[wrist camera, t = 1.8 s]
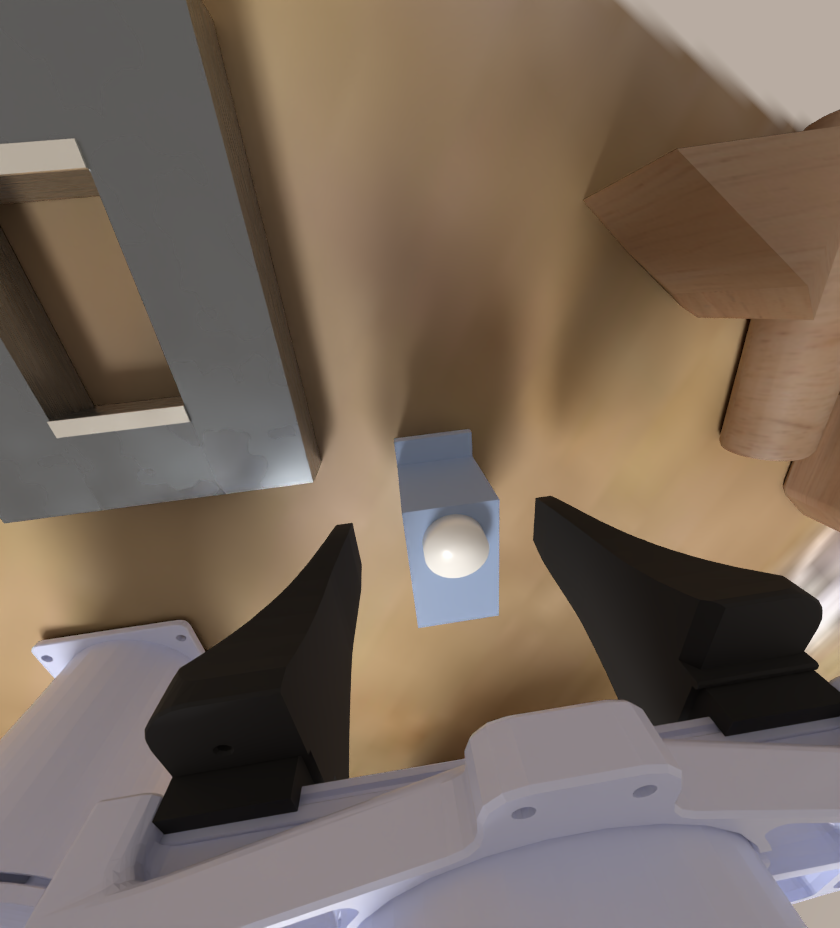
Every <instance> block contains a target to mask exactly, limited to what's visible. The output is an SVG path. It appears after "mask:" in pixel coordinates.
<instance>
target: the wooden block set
mask: <svg viewBox="0 0 840 928" xmlns="http://www.w3.org/2000/svg"><path fill="white" fill-rule="evenodd" d="M583 201H584V202H585V203H586V205H587V206H588V207H589V208H590V209H591V210H592V212H593V213H594V214H595V215H596V216H597V217H598V218H599V220H600V221H601V222H602V223H603V224H604V225H605V227H606V228H607V229H608V230H609V231H610V232H611V234H612V235H613V236H614V237H615V238H616V239H617V241H618V242H619V243H620V244H621V245H622V246H623V247H624V249H625V250H626V251H627V252H628V253H629V254H630V255H631V256H632V257H633V258H634V259H635V260H636V261H637V262H638V263H639V264H640V265H641V266H642V267H643V268H644V269H645V270H646V271H647V272H648V273H649V274H650V275H651V276H652V277H653V278H654V279H655V280H656V281H657V282H658V283H659V284H660V285H661V286H662V287H663V288H664V289H665V290H666V291H667V292H668V293H669V294H670V295H671V296H672V297H673V298H674V299H675V300H676V301H677V302H678V303H679V304H680V305H681V306H682V307H683V308H685V309H686V310H688V311H689V312H691V313H692V314H694V315H695V316H697V317H703V318H748V319H751V321H750V325H749V328H748V332H747V336H746V340H745V344H744V347H743V351H742V355H741V359H740V362H739V366H738V370H737V374H736V378H735V381H734V385H733V389H732V393H731V397H730V400H729V404H728V408H727V412H726V415H725V419H724V423H723V427H722V431H721V434H720V438H719V440H720V443H721V446H722V447H723V448H724V449H726V450H728V451H730V452H732V453H735V454H738V455H741V456H745V457H749V458H755V459H761V460H770V461H792V463H791V466H790V469H789V471H788V474H787V477H786V479H785V482H784V485H783V488H784V492H785V495H786V496H787V497H788V498H789V499H790V500H791V501H792V502H793V503H794V505H795V506H796V507H797V508H798V509H799V510H800V511H801V512H802V513H803V514H804V515H806V516H808V517H810V518H812V519H814V520H816V521H818V522H820V523H822V524H824V525H826V526H828V527H831V528H833V529H835V530H837V531H839V532H840V110H838V111H835V112H833V113H831V114H828V115H826V116H824V117H822V118H821V119H819V120H817V121H816V122H814V123H812V124H811V125H809V126H808V127H806V128H805V129H804V131H801V132H794V133H786V134H779V135H772V136H765V137H758V138H751V139H743V140H736V141H729V142H722V143H715V144H708V145H700V146H693V147H686V148H679V149H676V150H674V151H672V152H670V153H668V154H666V155H665V156H663V157H661V158H659V159H657V160H655V161H654V162H652V163H650V164H648V165H646V166H644V167H643V168H641V169H639V170H637V171H635V172H633V173H632V174H630V175H628V176H626V177H624V178H622V179H621V180H619V181H617V182H615V183H613V184H611V185H610V186H608V187H606V188H604V189H602V190H600V191H599V192H597V193H595V194H593V195H591V196H589V197H588V198H586V199H584V200H583Z"/></svg>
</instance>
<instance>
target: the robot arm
mask: <svg viewBox="0 0 840 928" xmlns="http://www.w3.org/2000/svg"><path fill="white" fill-rule="evenodd" d="M533 541H534V543H535V545H536V547H537V550H538V552H539V554H540V556H541V558H542V560H543V562H544V564H545V565H546V567H547V569H548V570H549V572H550V573H551V575H552V577H553V578H554V580H555V581H556V583H557V584H558V586H559V587H560V589H561V590H562V592H563V594H564V595H565V597H566V598H567V600H568V601H569V603H570V604H571V606H572V607H573V609H574V611H575V612H576V614H577V616H578V617H579V619H580V621H581V623H582V624H583V626H584V628H585V630H586V632H587V634H588V636H589V638H590V640H591V642H592V644H593V646H594V648H595V650H596V652H597V654H598V656H599V658H600V660H601V663H602V665H603V667H604V669H605V671H606V673H607V675H608V677H609V679H610V682H611V684H612V686H613V688H614V691H615V693H616V695H617V697H618V699H619V700H601V701H595V702H589V703H583V704H577V705H571V706H565V707H559V708H553V709H547V710H541V711H535V712H529V713H523V714H517V715H511V716H506V717H503V718H500V719H497V720H493V721H490V722H487V723H486V724H484V725H483V726H482V727H480V728H479V729H478V730H476V731H475V732H474V733H473V734H472V735H471V737H470V738H469V741H468V744H467V746H466V749H465V751H464V753H465V759H460V760H454V761H448V762H442V763H436V764H430V765H425V766H419V767H413V768H407V769H401V770H395V771H390V772H384V773H378V774H372V775H366V776H360V777H355V778H349V725H350V691H351V667H352V652H353V642H354V635H355V629H356V622H357V615H358V608H359V601H360V593H361V571H362V564H361V560H360V555H359V551H358V546H357V542H356V537H355V533H354V528H353V524H352V523H348V524H341V525H336V526H335V528H334V529H333V530H332V532H331V533H330V534H329V536H328V537H327V539H326V540H325V542H324V543H323V544H322V546H321V547H320V548H319V550H318V551H317V552H316V554H315V555H314V556H313V558H312V559H311V560H310V561H309V563H308V564H307V565H306V566H305V568H304V569H303V570H302V571H301V572H300V573H299V575H298V576H297V577H296V578H295V579H294V580H293V581H292V582H291V584H290V585H289V586H288V587H287V588H286V589H285V590H284V591H283V592H282V593H281V594H279V595H278V596H277V597H276V598H275V599H274V600H273V601H272V602H271V603H270V604H269V605H267V606H266V607H265V608H264V609H263V610H262V611H260V612H259V613H258V614H257V615H256V616H254V617H253V618H252V619H251V620H250V621H248V622H247V623H246V624H245V625H243V626H242V627H241V628H239V629H238V630H237V631H235V632H234V633H232V634H231V635H230V636H228V637H227V638H226V639H224V640H223V641H221V642H220V643H218V644H217V645H215V646H214V647H212V648H211V649H209V650H208V651H206V652H205V650H204V648H203V647H202V645H201V643H200V641H199V639H198V638H197V636H196V634H195V632H194V630H193V629H192V627H191V625H190V624H189V623H188V622H187V621H185V620H174V621H167V622H161V623H154V624H147V625H141V626H134V627H127V628H120V629H114V630H107V631H100V632H94V633H87V634H80V635H74V636H67V637H60V638H54V639H47V640H41V641H39V642H38V643H37V644H36V645H35V646H34V647H32V650H31V651H32V653H33V655H34V656H35V657H36V658H37V659H38V660H39V661H40V662H41V664H42V665H43V666H44V667H45V668H46V669H47V670H48V671H49V673H50V674H51V675H52V676H53V677H54V678H55V679H54V680H53V681H52V682H51V683H50V685H49V686H48V687H47V688H46V689H45V690H44V691H43V692H42V694H41V695H40V696H39V697H38V698H37V699H36V700H35V701H34V703H33V704H32V705H31V706H30V707H29V708H28V709H27V710H26V712H25V713H24V714H23V715H22V716H21V717H20V718H19V719H18V720H17V722H16V723H15V724H14V725H13V726H12V727H11V728H10V729H9V731H8V732H7V733H6V734H5V735H4V736H3V737H2V738H1V740H0V928H808V927H807V926H806V925H805V923H804V922H803V920H802V919H801V917H800V916H799V914H798V913H797V911H796V910H795V908H794V907H793V906H792V904H794V903H797V902H801V901H804V900H808V899H811V898H815V897H818V896H822V895H825V894H829V893H832V892H836V891H839V890H840V676H839V677H836V678H834V679H833V680H831V681H830V682H827V681H826V680H825V679H824V678H823V677H821V676H820V675H819V674H818V673H817V672H816V671H814V670H817V669H818V667H819V665H818V663H817V662H816V661H815V660H814V659H813V658H812V657H810V656H809V655H808V654H807V653H805V652H804V650H805V649H806V647H807V645H808V644H809V642H810V640H811V639H812V637H813V635H814V634H815V632H816V630H817V629H818V627H819V624H820V622H821V620H822V606H821V604H820V602H819V600H817V599H816V598H814V597H813V596H812V595H810V594H809V593H807V592H806V591H804V590H803V589H801V588H800V587H798V586H797V585H796V584H794V583H793V582H791V581H790V580H788V579H787V578H785V577H784V576H780V575H775V574H770V573H764V572H759V571H754V570H748V569H743V568H738V567H733V566H729V565H725V564H721V563H716V562H712V561H708V560H704V559H701V558H697V557H693V556H690V555H686V554H683V553H680V552H677V551H673V550H670V549H667V548H664V547H661V546H658V545H655V544H653V543H650V542H647V541H645V540H642V539H639V538H637V537H634V536H632V535H630V534H627V533H625V532H623V531H620V530H618V529H616V528H614V527H612V526H609V525H607V524H605V523H603V522H601V521H599V520H597V519H595V518H593V517H591V516H589V515H587V514H585V513H584V512H582V511H580V510H578V509H576V508H574V507H572V506H570V505H568V504H566V503H565V502H563V501H561V500H559V499H557V498H554V497H552V496H547V497H539V498H536V501H535V518H534V535H533Z"/></svg>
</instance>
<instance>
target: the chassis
mask: <svg viewBox="0 0 840 928" xmlns="http://www.w3.org/2000/svg"><path fill="white" fill-rule="evenodd" d="M90 196H100V197H101V200H102V202H103V205H104V207H105V210H106V212H107V215H108V217H109V220H110V222H111V224H112V227H113V229H114V232H115V234H116V237H117V239H118V242H119V244H120V247H121V249H122V252H123V254H124V257H125V259H126V261H127V264H128V266H129V269H130V271H131V274H132V276H133V279H134V281H135V284H136V286H137V289H138V291H139V294H140V296H141V299H142V301H143V303H144V306H145V308H146V311H147V313H148V316H149V318H150V321H151V323H152V326H153V328H154V331H155V333H156V336H157V338H158V340H159V343H160V345H161V348H162V350H163V353H164V355H165V358H166V360H167V363H168V365H169V368H170V370H171V373H172V375H173V378H174V380H175V382H176V385H177V387H178V390H179V392H180V395H181V396H178V397H169V398H161V399H152V400H144V401H135V402H127V403H118V404H110V405H101V406H94V405H93V403H92V401H91V399H90V397H89V395H88V393H87V392H86V390H85V388H84V386H83V384H82V382H81V380H80V378H79V376H78V374H77V372H76V371H75V369H74V367H73V365H72V363H71V361H70V359H69V357H68V355H67V353H66V351H65V350H64V348H63V346H62V344H61V342H60V340H59V338H58V336H57V334H56V332H55V330H54V328H53V327H52V325H51V323H50V321H49V319H48V317H47V315H46V313H45V311H44V309H43V307H42V306H41V304H40V302H39V300H38V298H37V296H36V294H35V292H34V290H33V288H32V286H31V285H30V283H29V281H28V279H27V277H26V275H25V273H24V271H23V269H22V267H21V265H20V264H19V262H18V260H17V258H16V256H15V254H14V252H13V250H12V248H11V246H10V244H9V243H8V241H7V239H6V237H5V235H4V233H3V231H2V229H1V227H0V519H1V520H2V521H3V523H10V522H18V521H25V520H33V519H40V518H48V517H56V516H63V515H71V514H78V513H86V512H93V511H101V510H109V509H116V508H124V507H131V506H139V505H146V504H154V503H162V502H169V501H177V500H184V499H192V498H199V497H207V496H214V495H222V494H230V493H237V492H245V491H252V490H260V489H267V488H275V487H283V486H290V485H298V484H305V483H313V482H314V479H315V477H316V475H317V472H318V470H319V467H320V465H321V459H320V455H319V450H318V446H317V442H316V438H315V434H314V430H313V426H312V422H311V418H310V414H309V410H308V406H307V402H306V398H305V393H304V389H303V385H302V381H301V377H300V373H299V369H298V365H297V361H296V357H295V353H294V349H293V345H292V341H291V336H290V332H289V328H288V324H287V320H286V316H285V312H284V308H283V304H282V300H281V296H280V292H279V288H278V284H277V279H276V275H275V271H274V267H273V263H272V259H271V255H270V251H269V247H268V243H267V239H266V235H265V231H264V227H263V222H262V218H261V214H260V210H259V206H258V202H257V198H256V194H255V190H254V186H253V182H252V178H251V174H250V169H249V165H248V161H247V157H246V153H245V149H244V145H243V141H242V137H241V133H240V129H239V125H238V121H237V117H236V112H235V108H234V104H233V100H232V96H231V92H230V88H229V84H228V80H227V76H226V72H225V68H224V64H223V60H222V55H221V51H220V47H219V43H218V39H217V35H216V31H215V27H214V23H213V19H212V17H211V16H210V14H209V12H208V11H207V9H206V7H205V6H204V4H203V2H202V0H0V204H9V203H21V202H32V201H44V200H56V199H67V198H79V197H90Z"/></svg>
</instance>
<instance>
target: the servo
mask: <svg viewBox="0 0 840 928" xmlns="http://www.w3.org/2000/svg"><path fill="white" fill-rule="evenodd" d="M394 445H395V452H396V459H397V467H398V477H399V488H400V498H401V508H402V517H403V524H404V531H405V538H406V545H407V552H408V559H409V566H410V573H411V580H412V587H413V594H414V601H415V608H416V615H417V622H418V628H421V627H428V626H434V625H441V624H447V623H453V622H460V621H466V620H472V619H479V618H485V617H492V616H498V615H499V498H498V497H497V495H496V493H495V492H494V490H493V488H492V487H491V485H490V484H489V482H488V480H487V479H486V477H485V476H484V474H483V472H482V471H481V469H480V467H479V466H478V464H477V463H476V461H475V459H474V458H473V456H472V432H471V431H470V429H464V430H457V431H449V432H441V433H433V434H425V435H417V436H409V437H402V438H394Z"/></svg>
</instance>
